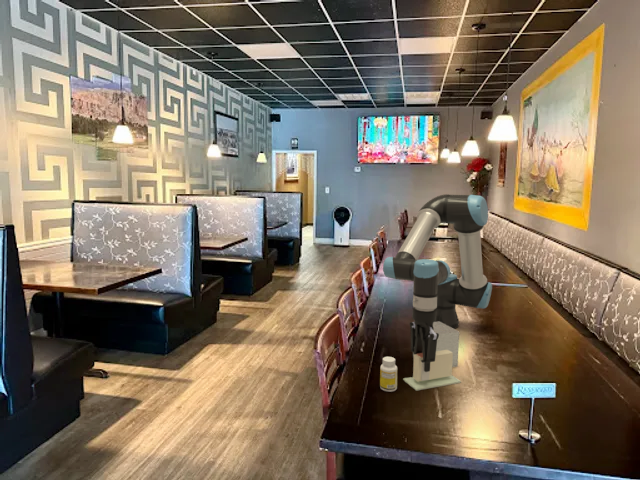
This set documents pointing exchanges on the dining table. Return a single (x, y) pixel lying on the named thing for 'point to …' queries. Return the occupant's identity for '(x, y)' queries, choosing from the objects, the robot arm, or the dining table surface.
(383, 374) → the supplement bottle
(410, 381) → the pad
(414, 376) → the cream rectangular block
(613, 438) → the dining table surface
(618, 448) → the dining table surface
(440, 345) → the plate
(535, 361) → the dining table surface
